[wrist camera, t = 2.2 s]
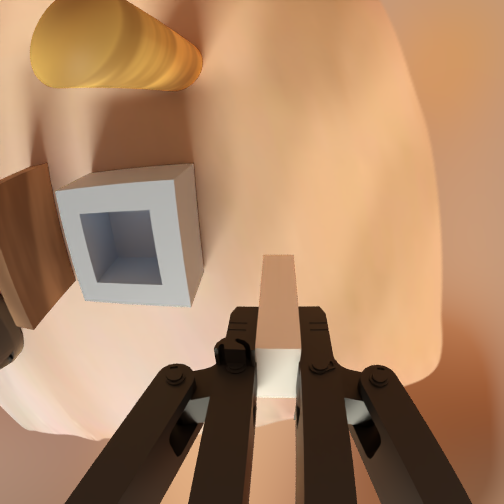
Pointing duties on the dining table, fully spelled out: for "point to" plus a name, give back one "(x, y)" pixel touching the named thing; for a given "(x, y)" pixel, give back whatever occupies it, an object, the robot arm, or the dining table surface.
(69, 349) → the dining table surface
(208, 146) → the dining table surface
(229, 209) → the dining table surface
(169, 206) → the block
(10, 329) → the robot arm
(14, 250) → the board
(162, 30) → the golden brown tall cylinder
